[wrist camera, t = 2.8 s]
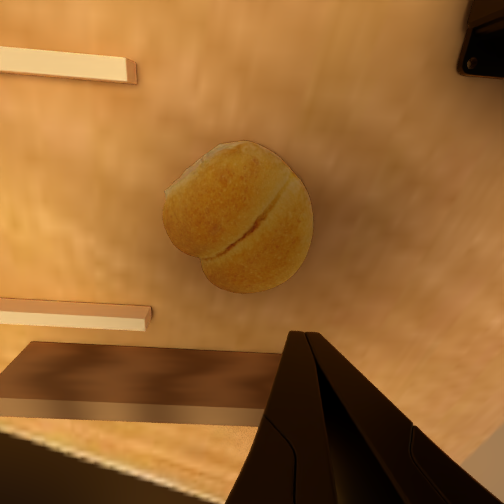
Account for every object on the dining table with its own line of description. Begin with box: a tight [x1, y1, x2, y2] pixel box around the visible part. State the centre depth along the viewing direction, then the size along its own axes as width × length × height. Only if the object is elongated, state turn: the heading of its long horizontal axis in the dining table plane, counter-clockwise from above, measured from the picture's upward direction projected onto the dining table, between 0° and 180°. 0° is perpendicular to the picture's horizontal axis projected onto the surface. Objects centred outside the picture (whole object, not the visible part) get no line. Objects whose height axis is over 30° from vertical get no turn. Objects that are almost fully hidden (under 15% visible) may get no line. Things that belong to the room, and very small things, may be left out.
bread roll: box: [163, 140, 314, 294], centre depth 18 cm, size 8×9×4 cm
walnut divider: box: [0, 342, 282, 427], centre depth 22 cm, size 22×2×5 cm, turn 86°
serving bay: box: [0, 46, 152, 331], centre depth 18 cm, size 13×16×2 cm
